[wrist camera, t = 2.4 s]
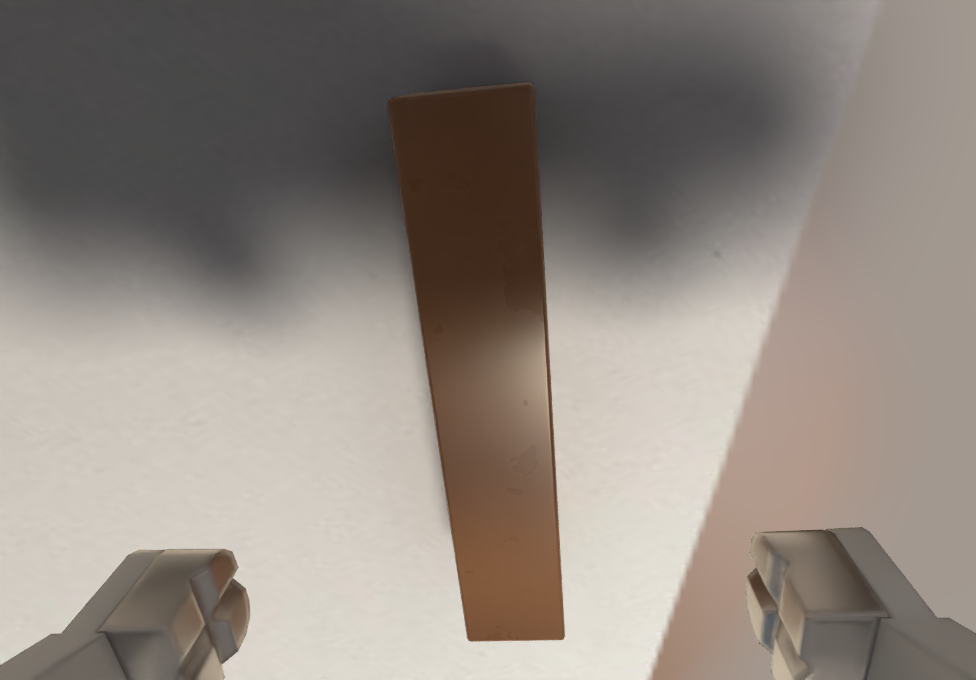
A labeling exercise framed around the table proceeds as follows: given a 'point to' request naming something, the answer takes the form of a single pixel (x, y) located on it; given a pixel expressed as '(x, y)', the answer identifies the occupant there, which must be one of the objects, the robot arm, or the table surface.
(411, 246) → the stick
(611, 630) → the table surface
